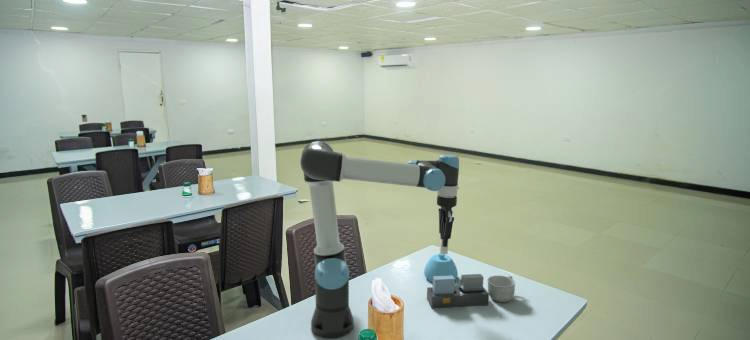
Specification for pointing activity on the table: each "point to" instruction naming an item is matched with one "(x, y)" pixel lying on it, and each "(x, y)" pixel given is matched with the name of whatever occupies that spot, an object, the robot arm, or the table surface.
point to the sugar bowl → (440, 267)
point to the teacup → (501, 288)
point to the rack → (461, 294)
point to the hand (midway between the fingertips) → (443, 253)
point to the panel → (443, 285)
